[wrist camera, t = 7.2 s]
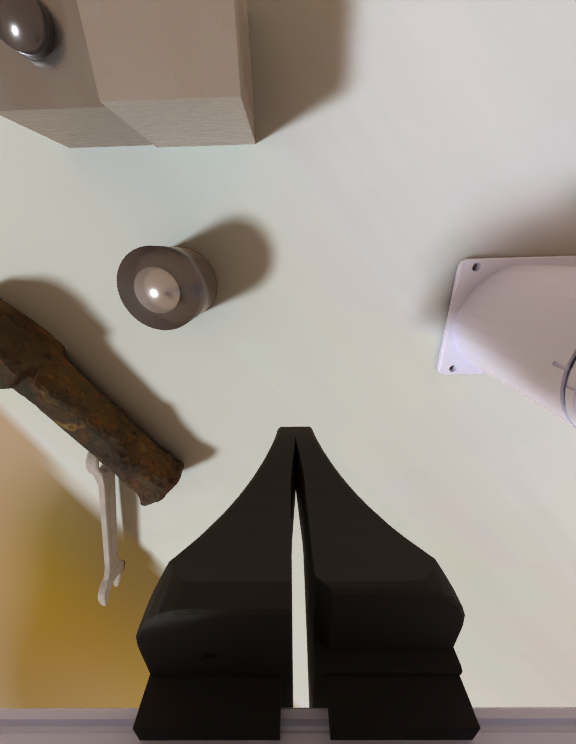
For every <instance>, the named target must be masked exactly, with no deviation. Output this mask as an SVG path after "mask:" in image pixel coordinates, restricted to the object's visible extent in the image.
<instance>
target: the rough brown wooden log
mask: <svg viewBox="0 0 576 744" xmlns="http://www.w3.org/2000/svg"><path fill="white" fill-rule="evenodd" d="M7 388H13V389H14V390H16V391H17V392H18V393H19V394H21V395H22V396H24V397H26V398H27V399H28V400H29V401H30V402H32V403H33V404H34V405H36V406H37V407H38V408H39V409H40V410H41V411H42V412H43V413H45V414H46V415H47V416H48V417H49V418H50V419H52V420H53V421H54V422H55V423H56V424H57V425H59V426H60V427H61V428H62V429H63V430H64V431H65V432H67V433H68V434H69V435H70V436H71V437H73V438H74V439H75V440H76V441H77V442H78V443H80V444H81V445H82V446H84V448H86V449H87V450H88V451H89V452H90V453H91V454H93V455H94V456H95V457H96V458H97V459H98V460H99V461H100V462H101V463H102V464H103V465H105V466H106V467H108V468H109V469H110V470H111V471H112V472H113V473H115V474H116V475H117V476H118V477H119V478H120V479H121V480H122V481H123V482H124V483H126V484H127V485H128V486H129V487H130V488H131V489H133V490H134V491H135V492H136V493H137V494H138V496H139V498H140V502H141V503H140V504H141V505H143V506H146V505H149V504H152V503H154V502H158V501H160V500H162V499H163V498H164V497H165V495H166V494H167V493H168V492H169V491H170V490H171V489H173V487H174V486H175V485H176V484H177V483H178V481H179V479H180V477H181V473H182V470H183V468H184V463H183V462H177V461H174V460H173V459H172V454H171V451H163V450H162V449H160V448H159V447H158V446H157V445H156V444H155V443H154V442H153V441H152V440H151V439H150V438H149V437H148V436H147V435H145V434H144V433H143V432H142V431H141V430H140V429H139V428H138V427H137V426H136V425H135V424H133V423H132V422H131V421H130V420H129V419H128V418H127V417H126V416H125V414H124V411H123V410H121V409H119V408H117V407H116V406H115V405H114V404H113V403H112V402H111V401H110V400H109V399H108V398H107V397H106V396H105V395H104V394H102V393H101V392H100V391H99V390H98V389H97V388H96V387H95V386H94V385H93V384H92V383H91V382H90V381H89V380H88V379H87V378H86V377H85V376H84V375H82V374H81V373H80V372H79V371H78V370H77V369H76V368H75V367H74V366H73V365H72V364H71V363H70V362H69V361H68V360H67V359H66V357H65V348H64V346H63V345H62V344H61V343H60V342H59V341H58V340H57V339H55V338H54V337H53V336H52V335H51V334H50V333H48V332H47V331H46V330H45V329H43V328H42V327H41V326H39V325H38V324H36V323H35V322H34V321H32V320H31V319H30V318H28V317H27V316H25V315H24V314H22V313H21V312H19V311H18V310H16V309H14V308H13V307H11V306H10V305H8V304H7V303H5V302H3V301H1V300H0V389H7Z"/></svg>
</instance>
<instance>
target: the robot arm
mask: <svg viewBox="0 0 576 744" xmlns="http://www.w3.org/2000/svg"><path fill="white" fill-rule="evenodd" d="M475 263H476V264H477V267H476V269H475V270H474V271H473V270H472V267H473V265H474V264H475ZM453 365H454V367H453V368H452V369H451V370H449V368H450V367H451V366H453ZM437 370H438V372H439V373H441V374H443V375H454V374H489V375H491V376H492V377H494V378H495V379H497V380H499V381H500V382H502V383H504V384H505V385H507V386H509V387H510V388H512V389H513V390H515V391H517V392H518V393H520V394H522V395H523V396H525V397H526V398H528V399H530V400H531V401H533V402H535V403H536V404H538V405H540V406H541V407H543V408H544V409H546V410H548V411H549V412H551V413H553V414H554V415H556V416H558V417H559V418H561V419H562V420H564V421H566V422H567V423H569V424H571V425H572V426H574V427H576V256H543V257H510V258H477V259H464V260H462V261H461V262H460V263H459V265H458V267H457V272H456V277H455V282H454V287H453V292H452V296H451V301H450V306H449V311H448V316H447V321H446V326H445V331H444V335H443V340H442V345H441V350H440V355H439V360H438V365H437ZM295 492H296V494H297V502H298V510H299V518H300V526H301V534H302V542H303V553H304V576H305V601H306V627H307V653H308V681H309V708H293V660H292V558H291V554H292V534H293V520H294V506H295ZM464 617H465V614H464V611H463V608H462V605H461V603H460V601H459V599H458V597H457V595H456V593H455V591H454V589H453V587H452V586H451V584H450V582H449V581H448V579H447V577H446V576H445V574H444V572H443V571H442V569H441V568H440V566H439V564H438V563H437V561H436V560H435V559H434V558H433V557H431V556H430V555H429V554H427V553H426V552H424V551H423V550H422V549H420V548H419V547H417V546H416V545H415V544H413V543H412V542H410V541H409V540H407V539H406V538H405V537H403V536H402V535H401V534H400V533H398V532H397V531H396V530H395V529H393V528H392V527H391V526H390V525H388V524H387V523H386V522H385V521H384V520H383V519H382V518H381V517H380V516H378V515H377V514H376V513H375V512H374V511H373V510H372V509H371V508H370V507H369V506H368V505H367V504H366V503H365V502H364V501H363V500H362V499H361V498H360V497H359V496H358V495H357V494H356V493H355V492H354V491H353V490H352V489H351V488H350V486H349V485H348V484H347V483H346V482H345V480H344V479H343V478H342V477H341V475H340V474H339V473H338V472H337V470H336V469H335V468H334V466H333V465H332V463H331V462H330V460H329V459H328V457H327V456H326V454H325V453H324V451H323V450H322V448H321V446H320V444H319V443H318V441H317V439H316V437H315V435H314V433H313V430H312V429H311V428H310V427H280V428H279V429H278V431H277V434H276V437H275V440H274V442H273V444H272V446H271V448H270V450H269V452H268V454H267V456H266V458H265V459H264V461H263V463H262V464H261V466H260V468H259V469H258V471H257V472H256V474H255V475H254V477H253V478H252V480H251V481H250V483H249V484H248V485H247V487H246V488H245V489H244V490H243V492H242V493H241V494H240V496H239V497H238V498H237V499H236V500H235V501H234V502H233V504H232V505H231V506H230V507H229V508H228V509H227V510H226V511H225V513H224V514H223V515H222V516H221V517H220V518H219V519H218V520H217V521H216V522H214V523H213V524H212V525H211V526H210V527H209V528H208V529H207V530H206V531H205V532H204V533H203V534H202V535H201V536H200V537H199V538H198V539H196V540H195V541H194V542H193V543H192V544H190V545H189V546H188V547H187V548H186V549H184V550H183V551H182V552H181V553H180V554H178V555H177V556H176V557H175V558H173V559H172V560H171V561H170V562H169V563H168V565H167V567H166V569H165V570H164V572H163V574H162V576H161V578H160V580H159V582H158V584H157V586H156V587H155V589H154V591H153V593H152V596H151V598H150V600H149V603H148V605H147V608H146V611H145V613H144V616H143V618H142V621H141V624H140V626H139V629H138V632H137V635H136V639H137V644H138V647H139V650H140V652H141V654H142V656H143V659H144V661H145V663H146V665H147V667H148V669H149V672H150V677H149V680H148V683H147V686H146V689H145V692H144V695H143V698H142V701H141V704H140V707H139V708H93V709H92V708H91V709H89V708H79V709H78V708H74V709H73V708H72V709H71V708H61V709H60V708H57V709H55V708H52V709H51V708H50V709H49V708H48V709H0V744H576V707H496V708H472V705H471V703H470V700H469V698H468V695H467V693H466V690H465V688H464V686H463V683H462V681H461V678H460V676H459V675H461V673H462V668H461V665H460V662H459V660H458V657H457V655H456V653H455V650H454V648H453V647H454V644H455V642H456V640H457V637H458V635H459V633H460V631H461V628H462V626H463V622H464Z"/></svg>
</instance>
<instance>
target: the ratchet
mask: <svg viewBox="0 0 576 744" xmlns="http://www.w3.org/2000/svg"><path fill="white" fill-rule="evenodd" d="M0 115H1V116H3V117H6V118H8V119H10V120H12V121H14V122H16V123H18V124H20V125H22V126H25V127H27V128H29V129H31V130H33V131H35V132H37V133H39V134H41V135H44V136H46V137H48V138H50V139H52V140H54V141H56V142H58V143H60V144H62V145H65V146H67V147H69V148H79V147H107V146H136V145H154V144H152V143H151V142H150V141H149V140H147V139H146V138H145V137H144V136H142V135H141V134H140V133H139V132H137V131H136V130H135V129H134V128H132V127H131V126H130V125H129V124H127V123H126V122H125V121H124V120H122V119H121V118H120V117H119V116H117V115H116V114H115V113H113V112H112V111H111V110H110V109H108V108H107V107H106V106H105V105H103V104H102V103H101V102H100V100H99V96H98V91H97V87H96V83H95V78H94V74H93V70H92V65H91V61H90V56H89V52H88V48H87V43H86V39H85V35H84V30H83V26H82V22H81V17H80V13H79V9H78V4H77V0H0Z"/></svg>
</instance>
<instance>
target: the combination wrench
mask: <svg viewBox="0 0 576 744" xmlns="http://www.w3.org/2000/svg"><path fill="white" fill-rule="evenodd" d="M86 468H87V470H88V472H89V473H91V474H93V475H94V477H95V479H96V481H97V483H98V487H99V499H100V511H101V523H102V535H103V548H104V560H105V574H104V579H103V581H102V583H101V585H100V589H99V592H98V601H99V602H100V604H101V605H107V602H108V597H109V593H110V588H111V586H112V584H113V582H114V586H115V587H117V586H118V585H119V582H120V580H121V577H122V574H123V571H124V568H125V561H124V560H120V559H119V558H118V552H117V523H116V494H115V473H113V472H112V471H111V470H110V469H109V468H108V467H106V466H105V465H103V464H102V465H101V467H100V468H99V460H98V459H97V458H96V457H95V456H94V455H93V454H91V453H90V452H88V454H87V457H86Z"/></svg>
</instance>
